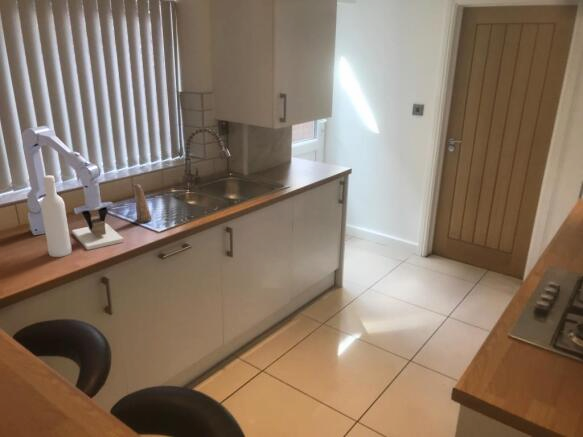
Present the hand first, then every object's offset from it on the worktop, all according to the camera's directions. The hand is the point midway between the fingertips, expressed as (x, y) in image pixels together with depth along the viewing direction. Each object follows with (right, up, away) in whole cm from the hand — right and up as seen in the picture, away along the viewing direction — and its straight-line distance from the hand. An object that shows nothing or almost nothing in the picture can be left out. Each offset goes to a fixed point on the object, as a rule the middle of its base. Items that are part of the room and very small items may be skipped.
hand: (96, 226), depth 192 cm
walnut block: (0, -2, 0) cm, 2 cm away
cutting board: (0, -4, +2) cm, 5 cm away
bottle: (-8, -10, -13) cm, 18 cm away
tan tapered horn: (+13, +2, +21) cm, 25 cm away
